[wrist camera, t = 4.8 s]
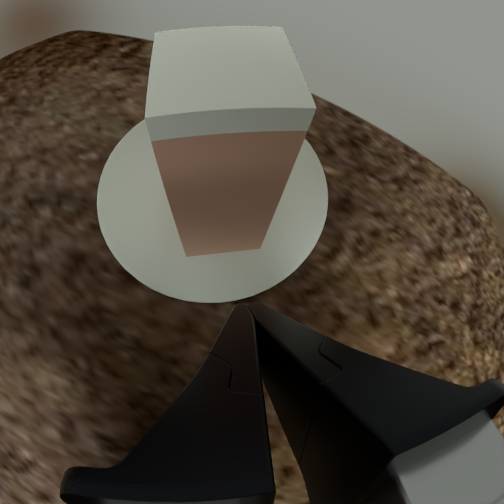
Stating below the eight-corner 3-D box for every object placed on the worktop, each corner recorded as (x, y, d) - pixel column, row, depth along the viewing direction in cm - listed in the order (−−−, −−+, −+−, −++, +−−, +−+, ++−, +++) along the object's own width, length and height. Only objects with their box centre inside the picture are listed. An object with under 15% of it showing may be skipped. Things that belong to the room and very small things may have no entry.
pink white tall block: (260, 248, 19) (316, 108, 7) (186, 256, 18) (144, 117, 7) (249, 184, 20) (281, 27, 9) (181, 191, 20) (155, 32, 8)
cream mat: (357, 164, 22) (359, 162, 22) (249, 354, 17) (250, 354, 17) (190, 79, 23) (190, 75, 23) (58, 217, 18) (56, 215, 18)
